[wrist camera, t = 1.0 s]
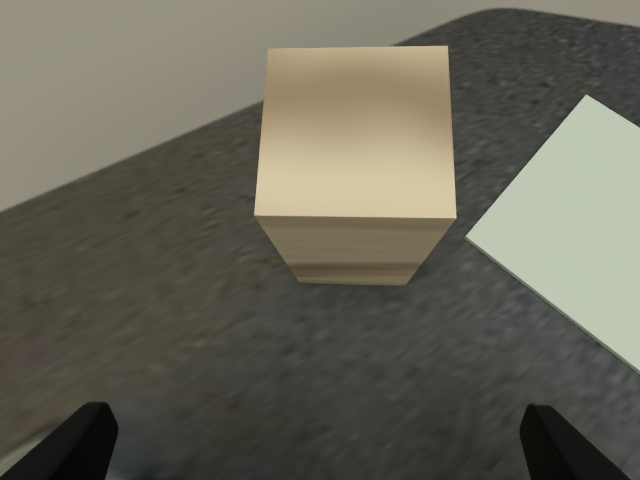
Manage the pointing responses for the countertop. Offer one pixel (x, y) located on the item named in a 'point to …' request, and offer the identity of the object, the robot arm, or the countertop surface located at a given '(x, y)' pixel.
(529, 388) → the countertop surface
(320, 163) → the birch block
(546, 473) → the robot arm
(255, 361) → the countertop surface
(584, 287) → the sage mat
